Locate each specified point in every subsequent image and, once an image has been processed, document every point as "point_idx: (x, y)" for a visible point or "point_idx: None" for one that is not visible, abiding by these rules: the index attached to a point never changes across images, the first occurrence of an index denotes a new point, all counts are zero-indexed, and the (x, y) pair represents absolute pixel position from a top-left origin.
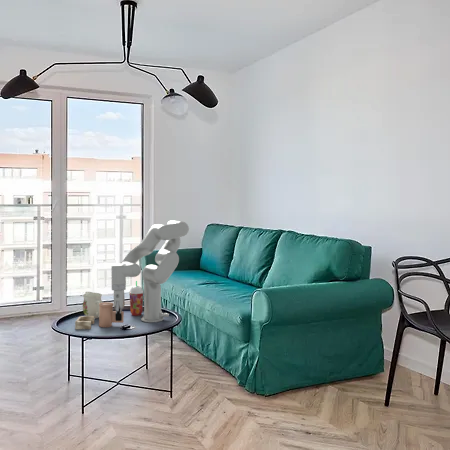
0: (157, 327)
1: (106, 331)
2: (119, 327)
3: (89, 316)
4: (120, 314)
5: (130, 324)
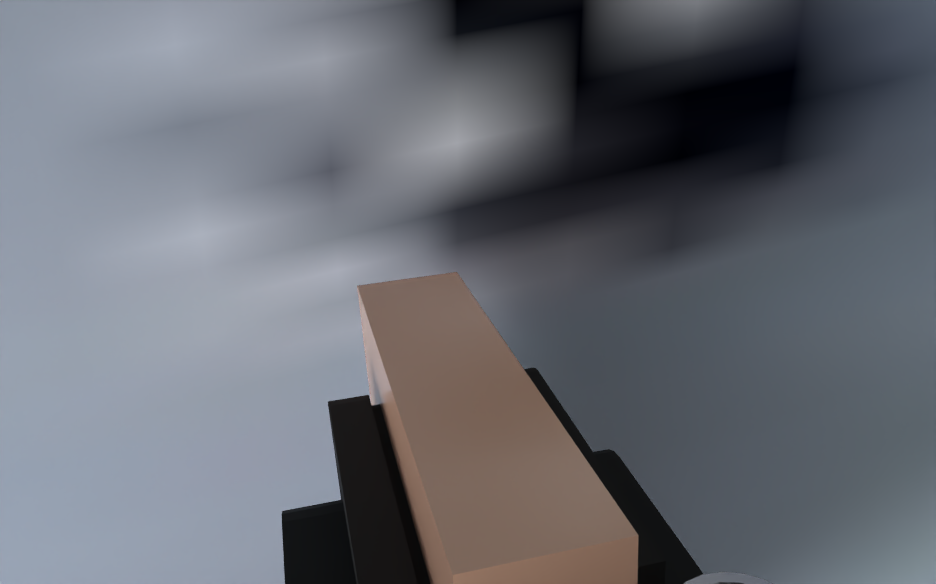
0: None
1: (891, 498)
2: (589, 303)
3: None
4: None
5: (205, 6)
